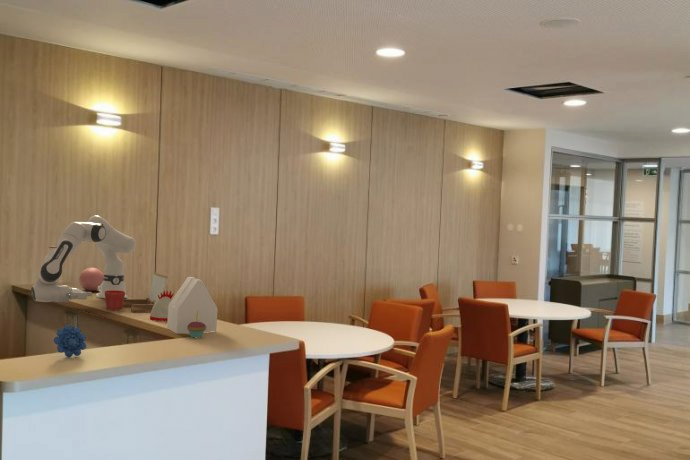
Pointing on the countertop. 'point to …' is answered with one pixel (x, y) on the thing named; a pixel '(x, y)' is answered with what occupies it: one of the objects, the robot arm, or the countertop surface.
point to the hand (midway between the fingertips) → (91, 293)
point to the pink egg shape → (91, 279)
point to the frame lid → (157, 286)
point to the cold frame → (139, 304)
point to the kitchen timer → (161, 307)
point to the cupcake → (196, 328)
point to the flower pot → (114, 299)
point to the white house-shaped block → (192, 307)
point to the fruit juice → (50, 255)
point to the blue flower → (70, 341)
